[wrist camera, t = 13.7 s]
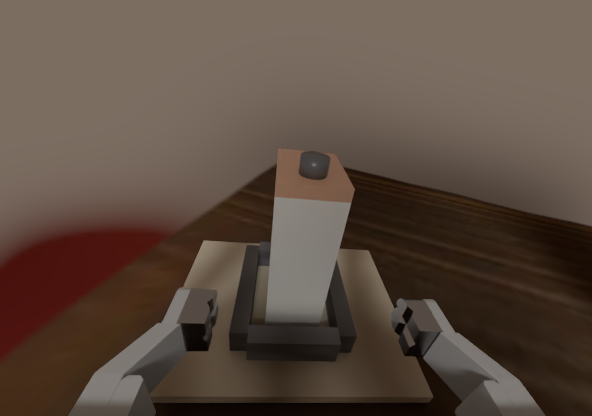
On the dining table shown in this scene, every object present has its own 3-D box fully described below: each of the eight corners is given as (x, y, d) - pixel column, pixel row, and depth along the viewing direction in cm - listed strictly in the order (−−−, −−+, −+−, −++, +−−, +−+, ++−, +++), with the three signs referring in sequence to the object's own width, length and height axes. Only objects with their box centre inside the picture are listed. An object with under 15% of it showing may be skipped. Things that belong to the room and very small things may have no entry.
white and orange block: (311, 276, 23) (338, 139, 17) (317, 330, 18) (359, 170, 12) (268, 273, 23) (279, 133, 16) (264, 329, 18) (277, 163, 12)
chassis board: (366, 255, 28) (373, 236, 26) (428, 402, 16) (447, 381, 14) (204, 246, 26) (202, 225, 25) (137, 402, 14) (125, 378, 13)
